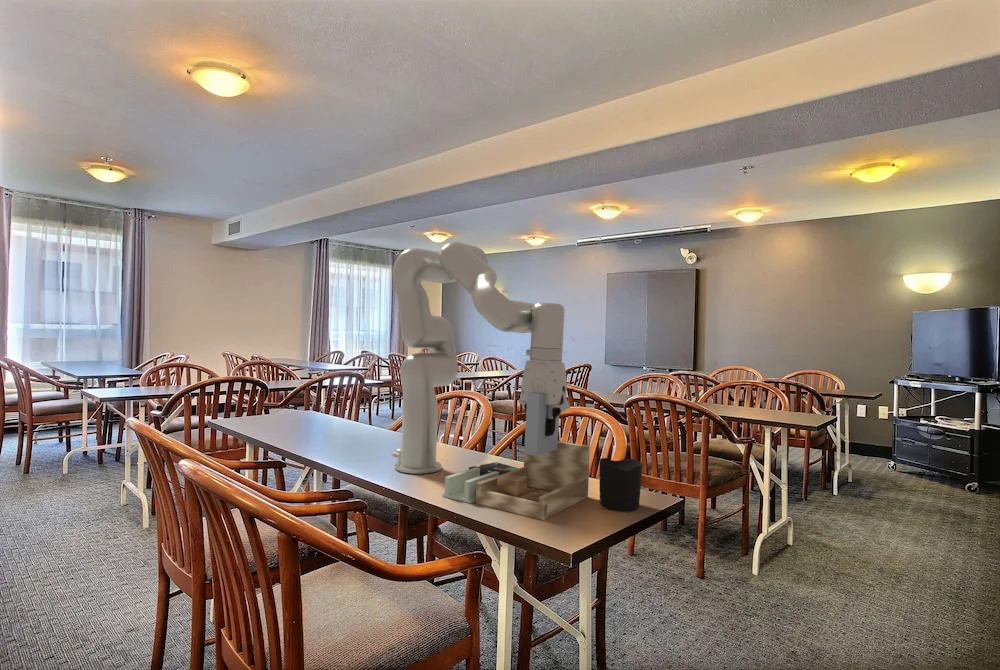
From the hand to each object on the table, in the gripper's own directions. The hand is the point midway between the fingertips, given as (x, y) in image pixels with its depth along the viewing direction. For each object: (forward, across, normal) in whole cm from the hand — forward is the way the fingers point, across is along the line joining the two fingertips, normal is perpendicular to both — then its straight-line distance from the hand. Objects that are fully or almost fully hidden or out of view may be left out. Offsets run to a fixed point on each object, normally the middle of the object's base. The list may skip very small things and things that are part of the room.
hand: (542, 433), depth 130 cm
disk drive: (+16, -16, +8) cm, 24 cm away
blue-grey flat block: (+4, 0, 0) cm, 4 cm away
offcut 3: (+15, +4, -9) cm, 18 cm away
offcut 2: (+15, -2, -9) cm, 18 cm away
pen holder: (+15, +18, +6) cm, 24 cm away
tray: (+15, +1, -4) cm, 15 cm away
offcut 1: (+12, -2, -9) cm, 15 cm away
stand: (+15, -13, -9) cm, 22 cm away
